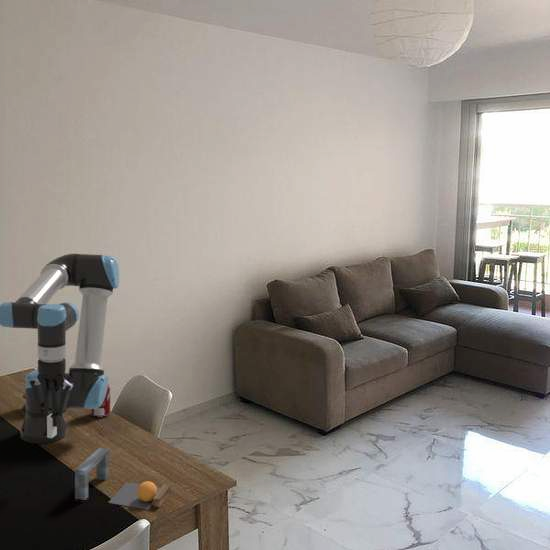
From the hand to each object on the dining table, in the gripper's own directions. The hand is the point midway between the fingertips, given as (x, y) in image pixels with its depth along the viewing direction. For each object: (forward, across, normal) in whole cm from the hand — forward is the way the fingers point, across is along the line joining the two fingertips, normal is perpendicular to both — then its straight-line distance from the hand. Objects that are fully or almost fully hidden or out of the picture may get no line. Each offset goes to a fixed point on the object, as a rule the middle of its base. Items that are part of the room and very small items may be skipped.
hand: (52, 435), depth 181 cm
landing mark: (+14, +27, 0) cm, 31 cm away
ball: (+12, +31, -2) cm, 33 cm away
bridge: (+14, +13, 0) cm, 19 cm away
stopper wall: (+14, +34, 0) cm, 37 cm away
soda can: (+15, -10, +50) cm, 53 cm away
